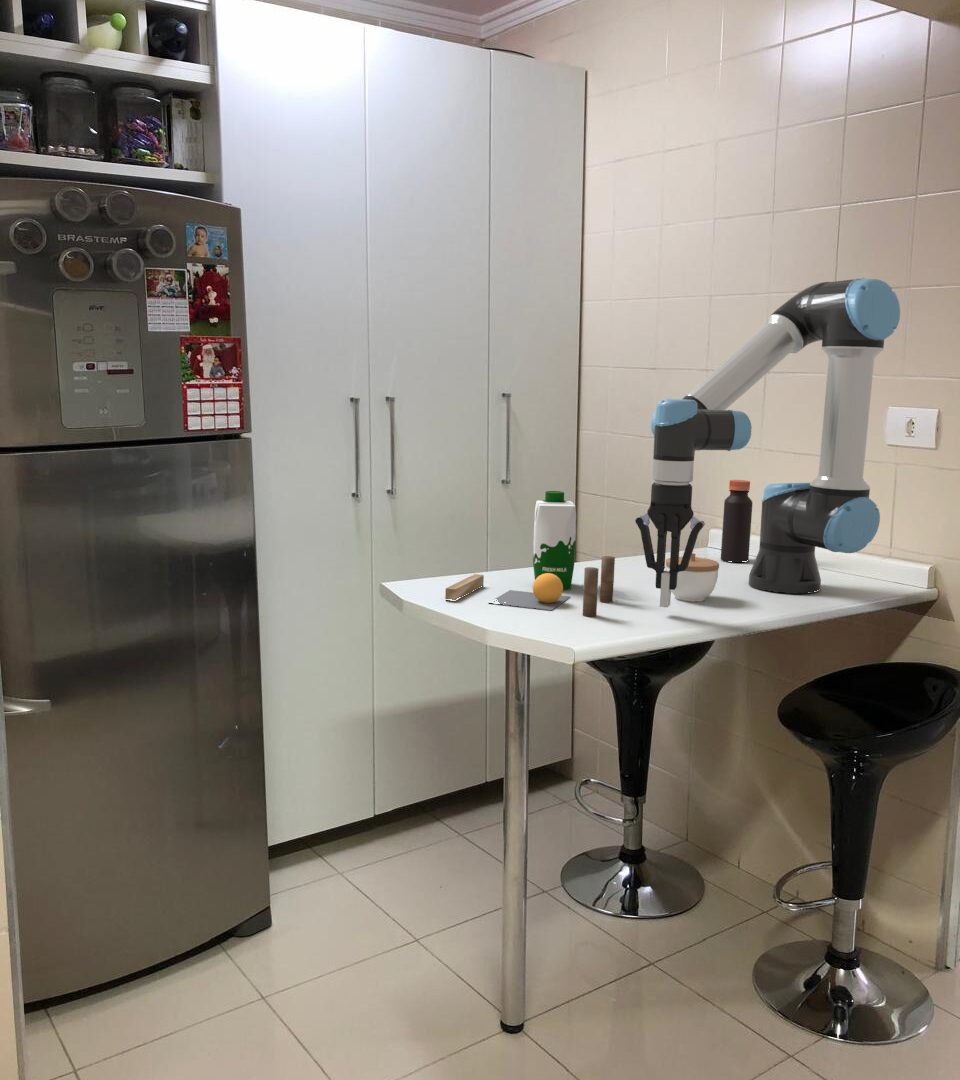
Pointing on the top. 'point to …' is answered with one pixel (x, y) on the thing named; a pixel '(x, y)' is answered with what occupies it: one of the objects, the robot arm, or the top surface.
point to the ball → (547, 588)
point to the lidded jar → (695, 579)
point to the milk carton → (555, 537)
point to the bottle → (737, 522)
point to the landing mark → (527, 600)
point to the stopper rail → (464, 587)
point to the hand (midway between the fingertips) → (665, 605)
